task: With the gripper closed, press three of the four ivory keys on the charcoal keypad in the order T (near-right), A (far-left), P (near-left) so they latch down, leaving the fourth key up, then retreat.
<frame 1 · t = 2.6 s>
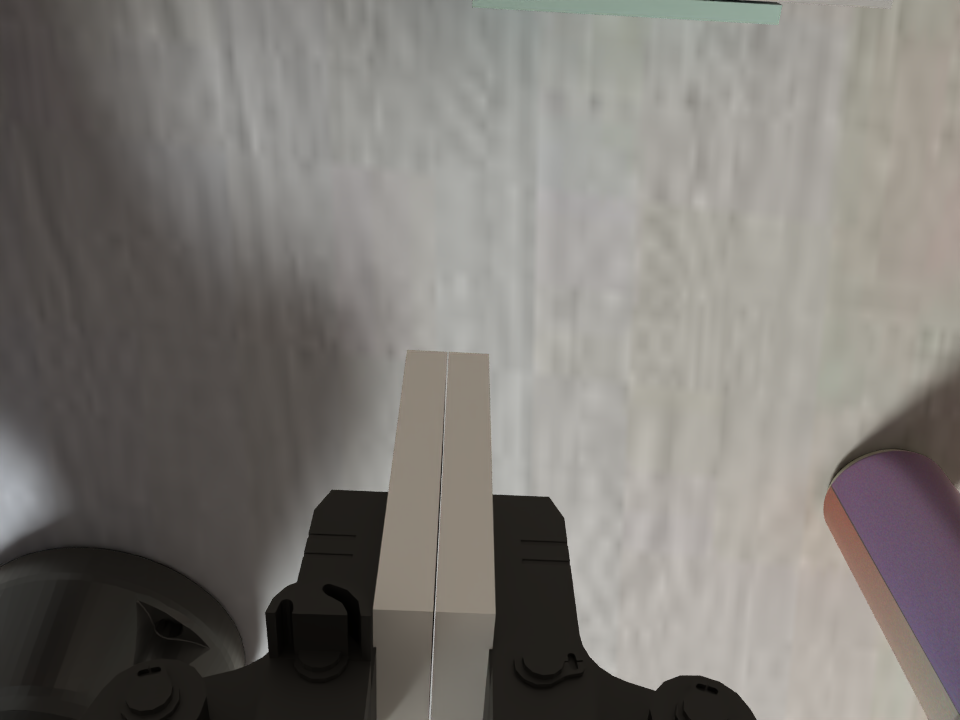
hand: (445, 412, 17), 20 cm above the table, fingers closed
beverage can: (877, 488, 45), on the table
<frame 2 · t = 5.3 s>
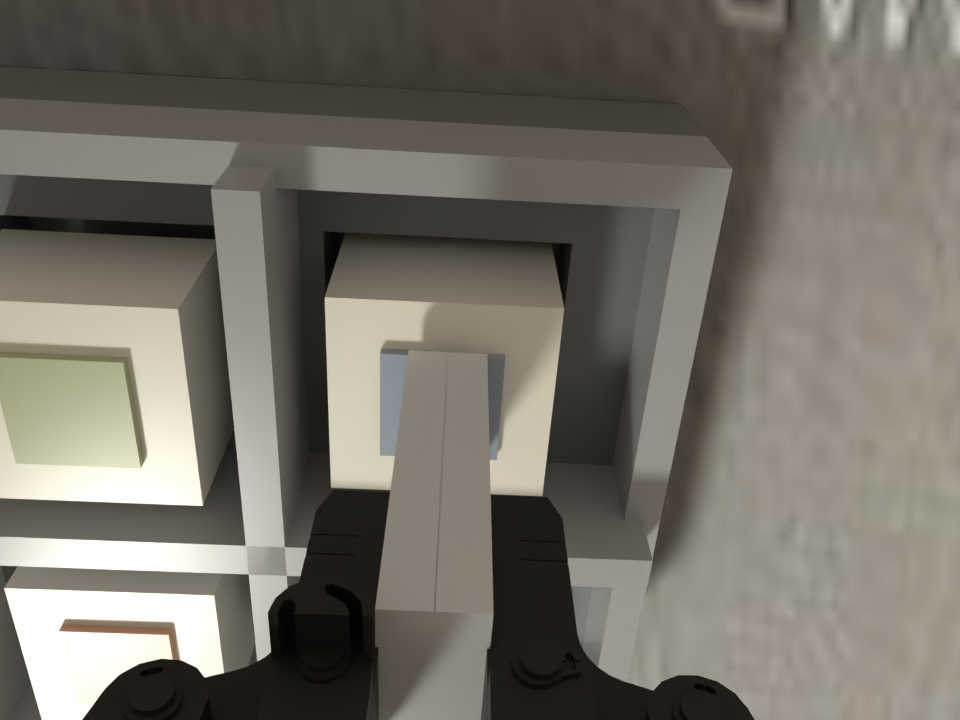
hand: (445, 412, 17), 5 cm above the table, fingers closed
key A: (145, 614, 22), point 4 cm above the table, slide at 0.0 cm
keypad: (309, 408, 24), on the table
key T: (442, 365, 19), point 3 cm above the table, slide at 0.8 cm, touching gripper
key P: (100, 368, 18), point 4 cm above the table, slide at 0.0 cm
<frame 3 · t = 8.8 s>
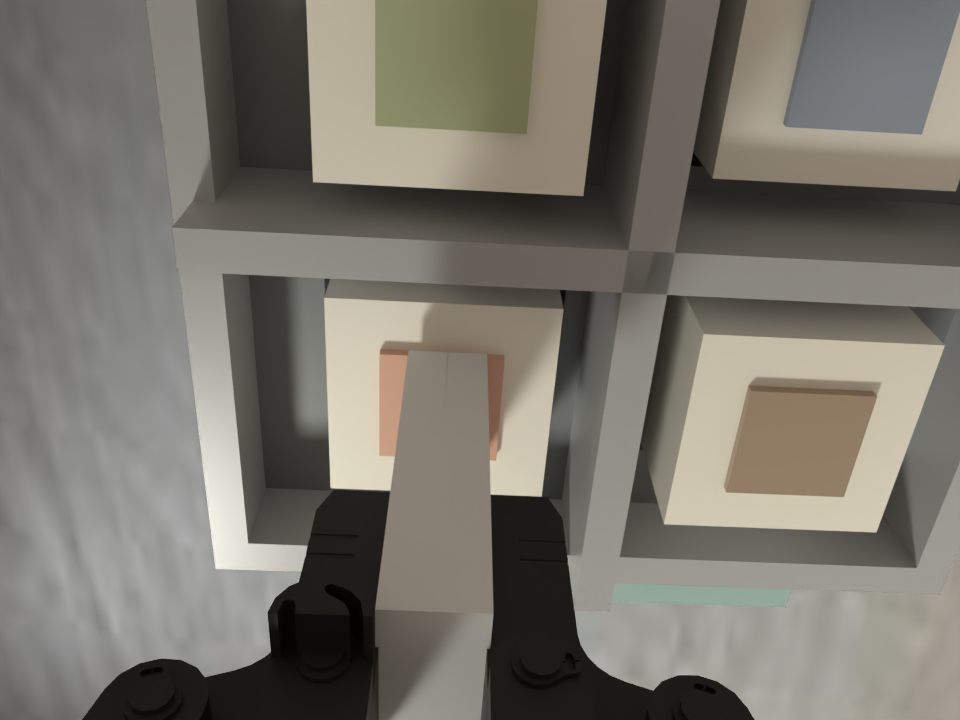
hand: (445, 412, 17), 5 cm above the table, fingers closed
key E: (773, 398, 19), point 4 cm above the table, slide at 0.0 cm
key A: (442, 365, 19), point 3 cm above the table, slide at 0.8 cm, touching gripper
keypad: (604, 167, 20), on the table
key T: (837, 40, 16), point 3 cm above the table, slide at 1.3 cm
key P: (456, 30, 15), point 4 cm above the table, slide at 0.0 cm
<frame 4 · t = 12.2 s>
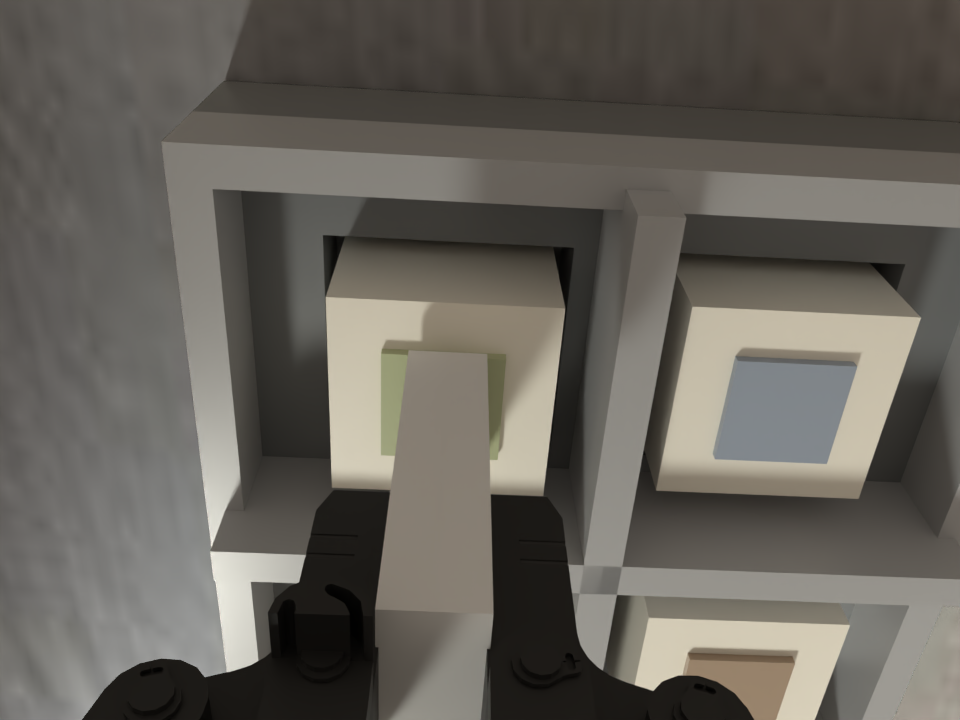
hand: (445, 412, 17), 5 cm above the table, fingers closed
key E: (714, 640, 22), point 4 cm above the table, slide at 0.0 cm
keypad: (573, 424, 24), on the table
key T: (760, 371, 20), point 3 cm above the table, slide at 1.3 cm
key P: (443, 365, 19), point 3 cm above the table, slide at 1.0 cm
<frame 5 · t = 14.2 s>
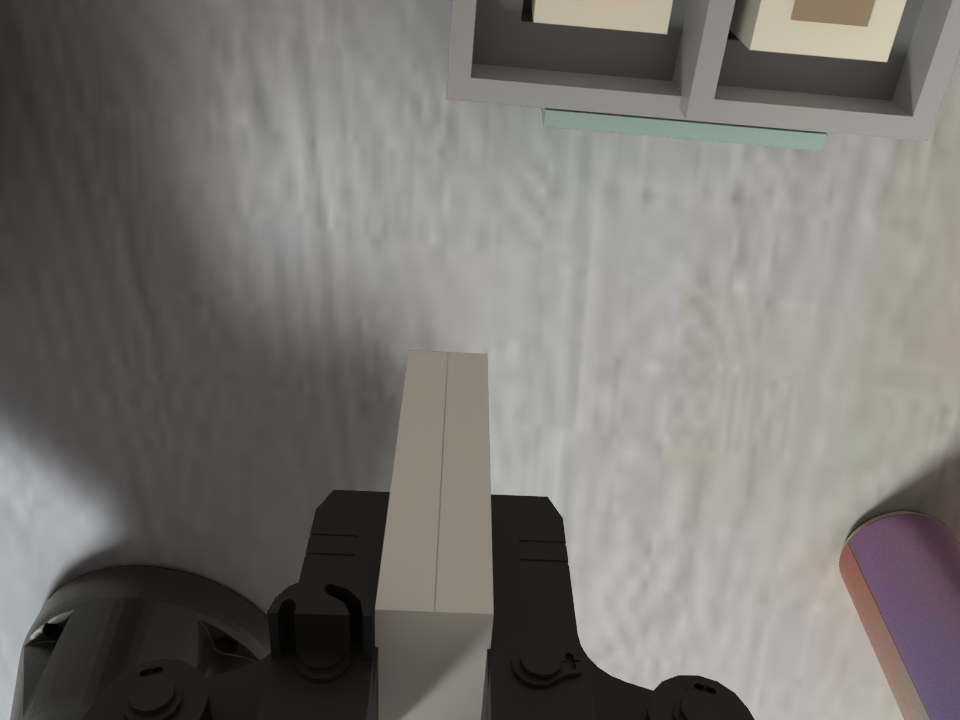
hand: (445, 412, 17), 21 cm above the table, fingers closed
beverage can: (891, 544, 48), on the table
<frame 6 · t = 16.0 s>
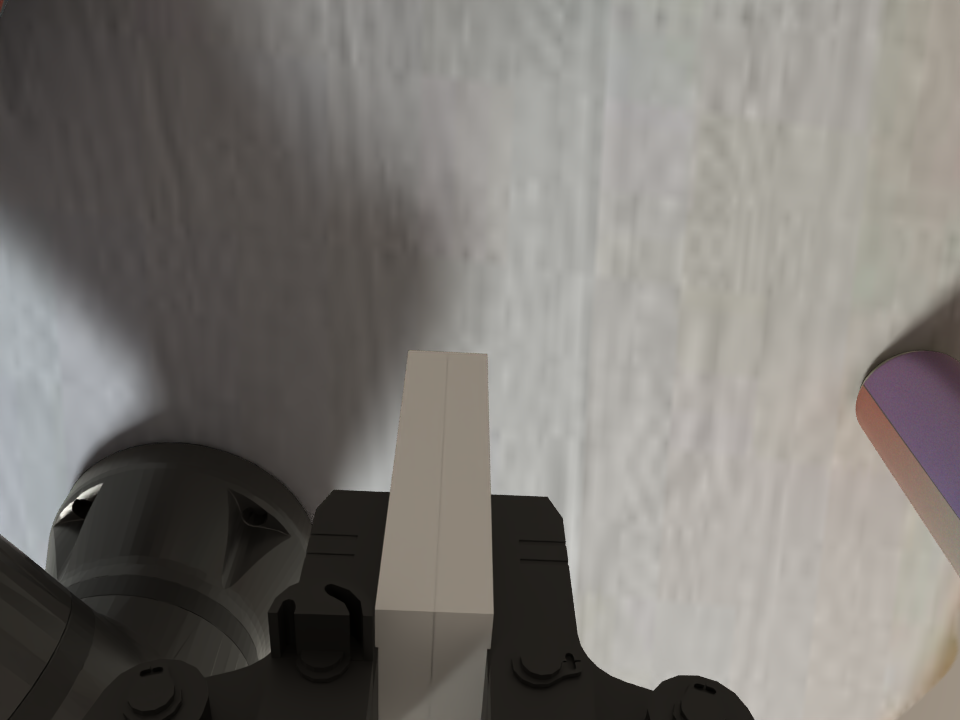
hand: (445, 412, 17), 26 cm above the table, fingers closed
beverage can: (905, 389, 49), on the table
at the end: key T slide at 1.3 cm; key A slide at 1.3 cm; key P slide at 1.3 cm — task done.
